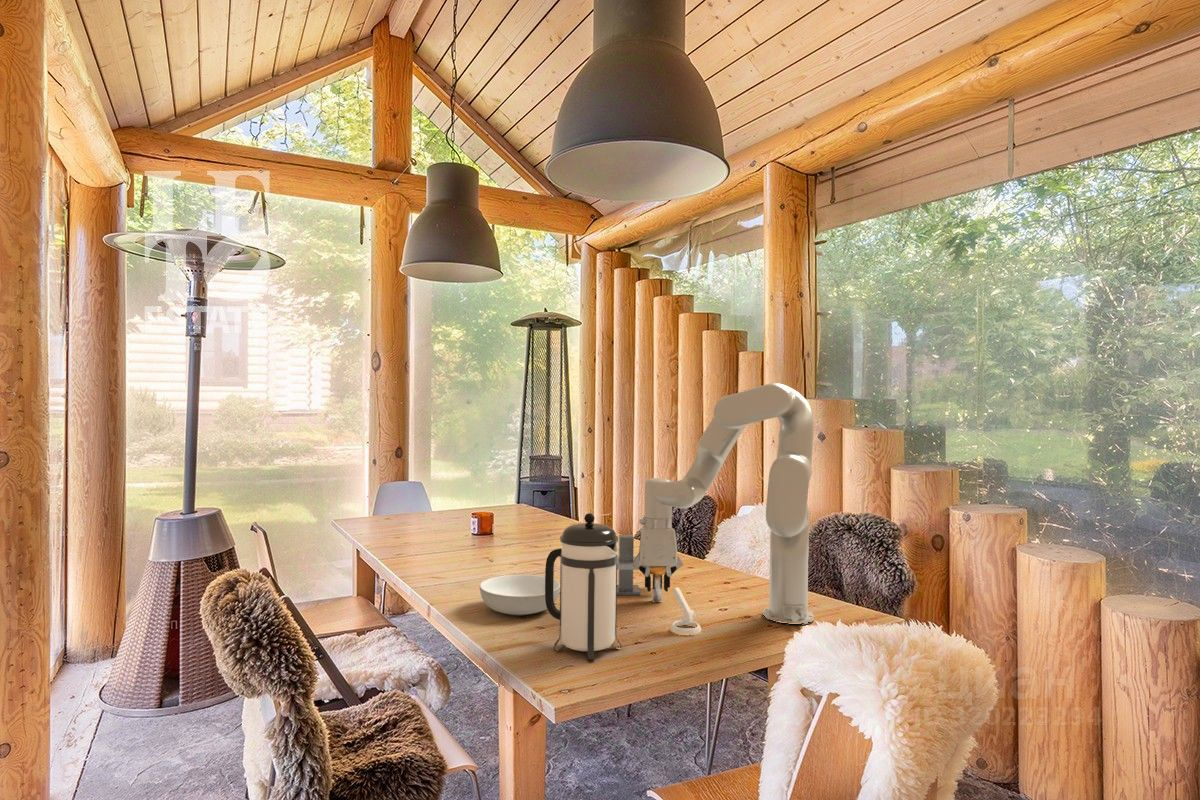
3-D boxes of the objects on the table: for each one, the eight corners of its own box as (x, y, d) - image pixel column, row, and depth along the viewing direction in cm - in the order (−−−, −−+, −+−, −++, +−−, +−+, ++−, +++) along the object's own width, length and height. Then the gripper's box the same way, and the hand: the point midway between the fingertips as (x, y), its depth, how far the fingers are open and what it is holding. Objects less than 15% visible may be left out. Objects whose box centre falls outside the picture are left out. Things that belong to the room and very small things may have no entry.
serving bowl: (483, 626, 164) (484, 597, 164) (475, 601, 184) (476, 576, 184) (567, 620, 170) (567, 592, 170) (551, 596, 190) (551, 572, 190)
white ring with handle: (659, 599, 170) (683, 585, 169) (683, 644, 165) (707, 630, 164) (650, 601, 163) (675, 586, 162) (675, 648, 159) (700, 633, 157)
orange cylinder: (667, 604, 184) (668, 567, 184) (648, 604, 183) (649, 567, 184) (665, 598, 189) (665, 562, 189) (646, 598, 189) (647, 562, 189)
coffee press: (619, 636, 158) (620, 507, 158) (623, 662, 142) (625, 519, 142) (544, 636, 157) (546, 507, 157) (540, 662, 141) (542, 518, 141)
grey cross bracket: (669, 596, 191) (669, 539, 191) (612, 596, 191) (613, 539, 191) (664, 586, 201) (665, 532, 201) (610, 586, 201) (611, 532, 201)
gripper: (628, 525, 182) (627, 593, 182) (690, 526, 183) (689, 594, 183) (626, 521, 190) (625, 586, 190) (686, 521, 190) (685, 586, 190)
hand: (657, 589), depth 186 cm, fingers closed on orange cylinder, 4 cm apart
